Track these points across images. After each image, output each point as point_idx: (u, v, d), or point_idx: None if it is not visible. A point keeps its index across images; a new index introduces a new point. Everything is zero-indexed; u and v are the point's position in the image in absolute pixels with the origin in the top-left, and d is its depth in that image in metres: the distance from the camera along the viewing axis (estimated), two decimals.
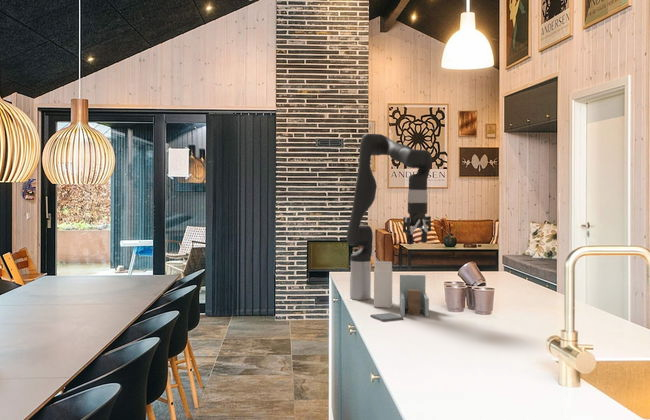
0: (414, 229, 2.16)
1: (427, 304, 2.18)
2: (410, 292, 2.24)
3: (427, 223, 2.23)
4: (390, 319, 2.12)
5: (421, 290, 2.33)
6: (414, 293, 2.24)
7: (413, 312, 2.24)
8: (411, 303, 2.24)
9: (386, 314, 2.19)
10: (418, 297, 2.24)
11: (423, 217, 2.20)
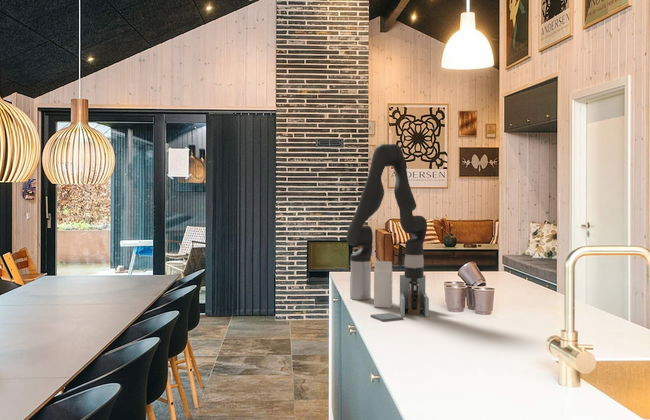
0: (417, 294, 2.24)
1: (427, 304, 2.18)
2: None
3: None
4: (390, 319, 2.12)
5: (421, 290, 2.33)
6: None
7: (413, 312, 2.24)
8: None
9: (386, 314, 2.19)
10: (418, 297, 2.24)
11: None
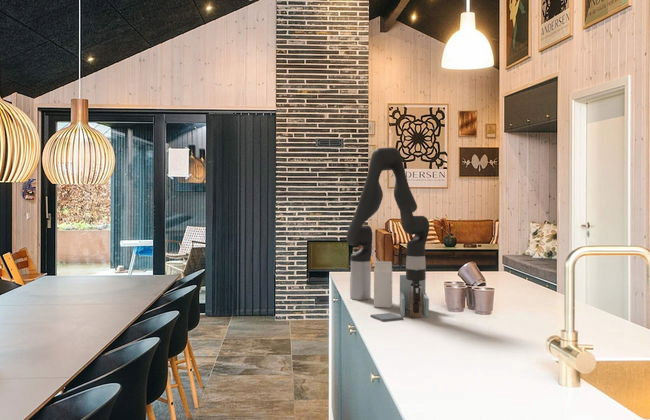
0: (419, 297, 2.17)
1: (427, 304, 2.18)
2: None
3: None
4: (390, 319, 2.12)
5: (421, 290, 2.33)
6: None
7: (415, 315, 2.17)
8: (412, 306, 2.17)
9: (386, 314, 2.19)
10: (420, 300, 2.17)
11: None
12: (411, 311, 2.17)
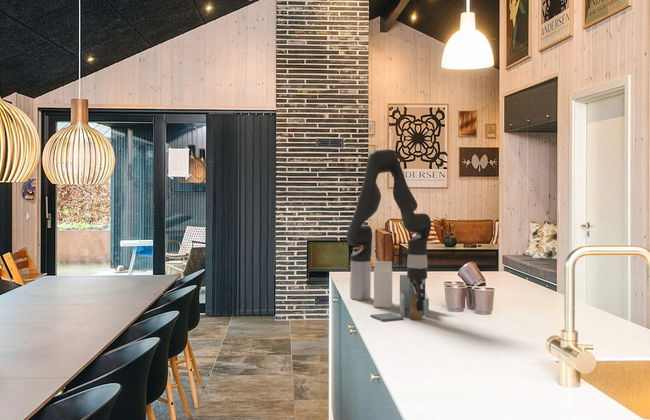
0: (423, 295, 2.12)
1: (427, 304, 2.18)
2: (412, 297, 2.13)
3: None
4: (390, 319, 2.12)
5: None
6: None
7: (415, 318, 2.13)
8: (413, 308, 2.13)
9: (386, 314, 2.19)
10: None
11: None
12: (411, 314, 2.13)
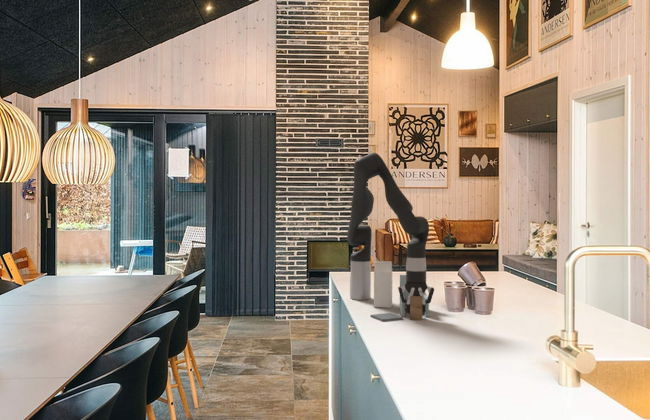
0: None
1: (427, 304, 2.18)
2: (412, 297, 2.13)
3: None
4: (390, 319, 2.12)
5: None
6: (416, 298, 2.13)
7: (415, 318, 2.13)
8: (413, 308, 2.13)
9: (386, 314, 2.19)
10: (420, 302, 2.13)
11: None
12: (411, 314, 2.13)
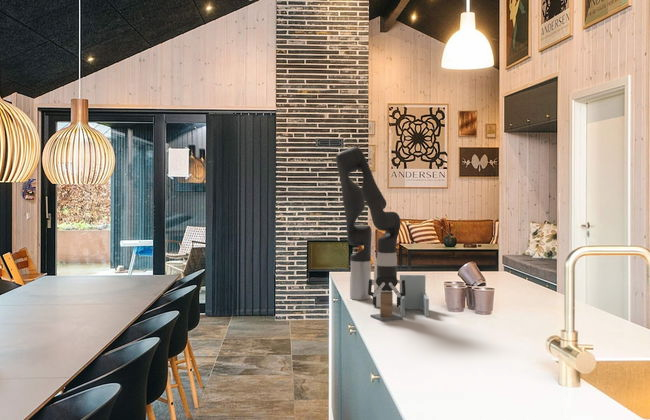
0: None
1: (427, 304, 2.18)
2: (382, 294, 2.14)
3: None
4: (390, 319, 2.12)
5: (421, 290, 2.33)
6: (386, 295, 2.14)
7: (385, 315, 2.14)
8: (383, 305, 2.14)
9: None
10: (390, 299, 2.14)
11: None
12: (381, 311, 2.14)
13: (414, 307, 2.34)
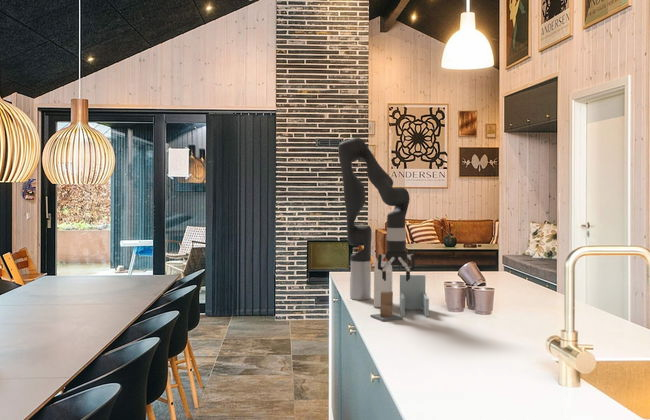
0: None
1: (427, 304, 2.18)
2: (382, 294, 2.14)
3: None
4: (390, 319, 2.12)
5: (421, 290, 2.33)
6: (386, 295, 2.14)
7: (385, 315, 2.14)
8: (383, 305, 2.14)
9: None
10: (391, 299, 2.14)
11: None
12: (381, 311, 2.14)
13: (414, 307, 2.34)
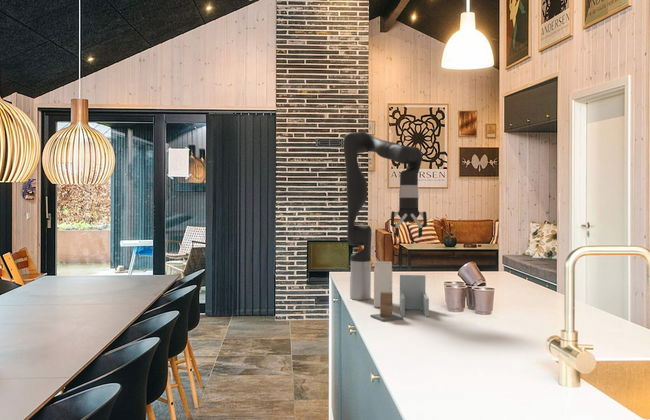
0: None
1: (427, 304, 2.18)
2: (382, 294, 2.14)
3: None
4: (390, 319, 2.12)
5: (421, 290, 2.33)
6: (386, 295, 2.14)
7: (385, 315, 2.14)
8: (383, 305, 2.14)
9: None
10: (390, 299, 2.14)
11: None
12: (381, 311, 2.14)
13: (414, 307, 2.34)
